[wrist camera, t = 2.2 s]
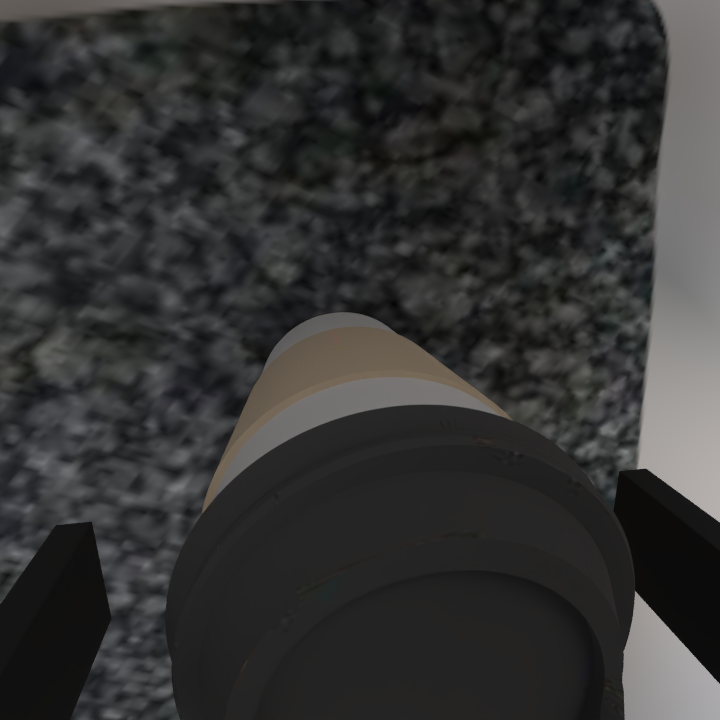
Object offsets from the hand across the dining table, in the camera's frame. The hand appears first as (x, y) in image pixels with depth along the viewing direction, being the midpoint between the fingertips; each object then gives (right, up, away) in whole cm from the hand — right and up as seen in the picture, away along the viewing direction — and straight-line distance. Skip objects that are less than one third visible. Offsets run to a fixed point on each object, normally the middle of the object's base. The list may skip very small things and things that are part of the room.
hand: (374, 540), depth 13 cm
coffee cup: (-1, +3, +9) cm, 10 cm away
